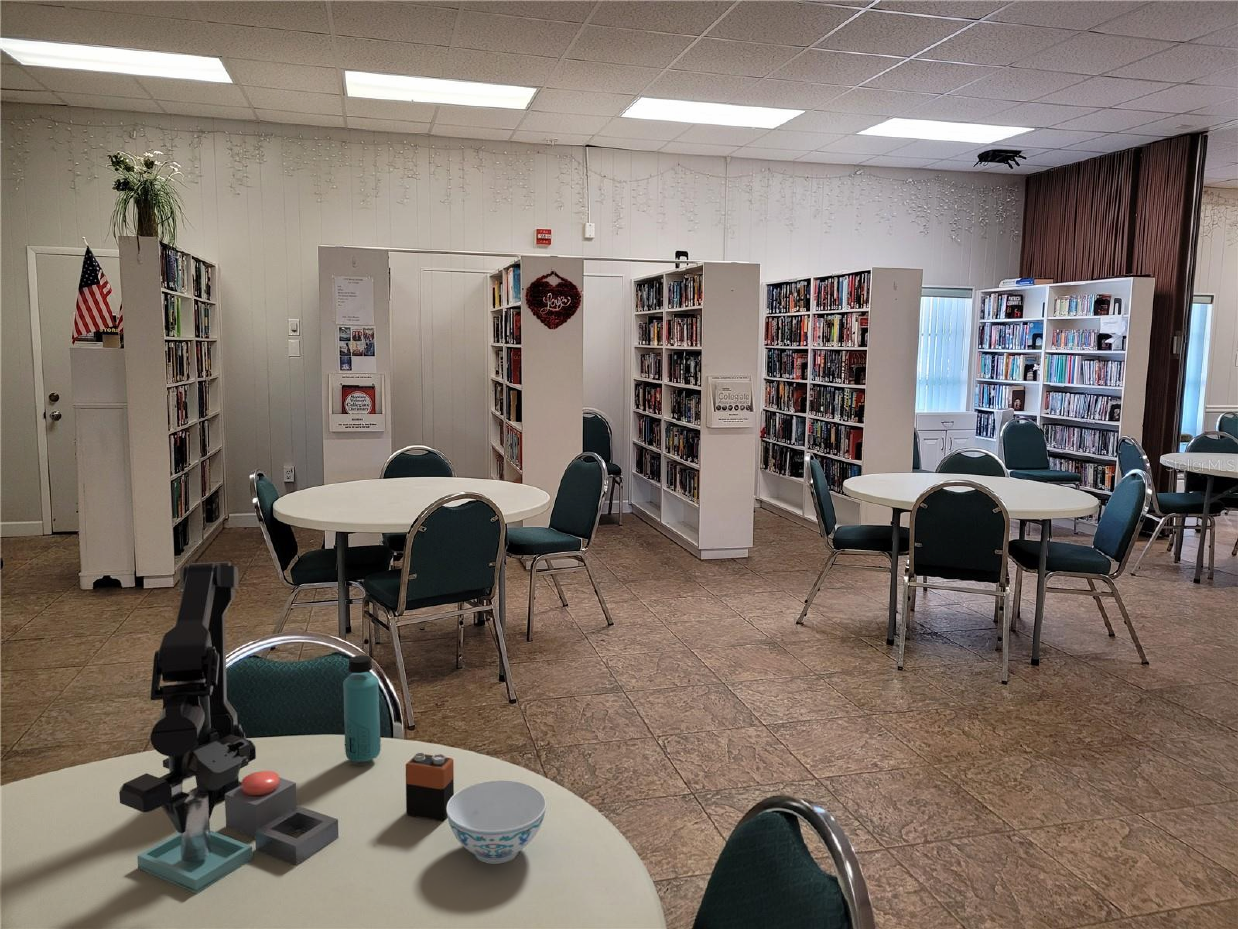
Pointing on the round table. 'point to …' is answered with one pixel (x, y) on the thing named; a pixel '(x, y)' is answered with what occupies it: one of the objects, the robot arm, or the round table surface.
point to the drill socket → (294, 850)
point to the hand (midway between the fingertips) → (194, 825)
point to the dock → (258, 807)
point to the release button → (260, 783)
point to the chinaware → (496, 818)
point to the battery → (429, 785)
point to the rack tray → (199, 873)
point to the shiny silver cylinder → (196, 827)
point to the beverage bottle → (361, 711)
